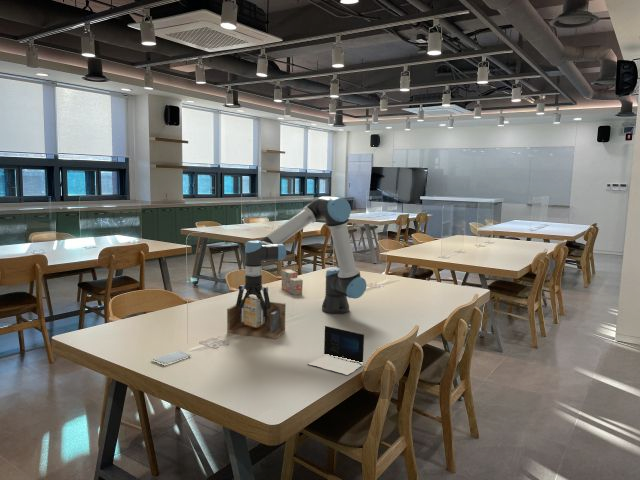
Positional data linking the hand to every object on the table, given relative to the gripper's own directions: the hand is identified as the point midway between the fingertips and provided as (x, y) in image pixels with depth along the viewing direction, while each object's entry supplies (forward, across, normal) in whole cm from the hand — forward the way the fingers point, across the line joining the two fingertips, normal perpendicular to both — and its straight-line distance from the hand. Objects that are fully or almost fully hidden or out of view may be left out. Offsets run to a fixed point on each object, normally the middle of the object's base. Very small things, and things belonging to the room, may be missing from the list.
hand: (253, 322), depth 220 cm
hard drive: (+6, -16, -41) cm, 45 cm away
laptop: (+6, +46, -25) cm, 53 cm away
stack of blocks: (+5, -12, +84) cm, 85 cm away
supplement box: (+2, 0, 0) cm, 2 cm away
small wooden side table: (+5, +1, +1) cm, 5 cm away
